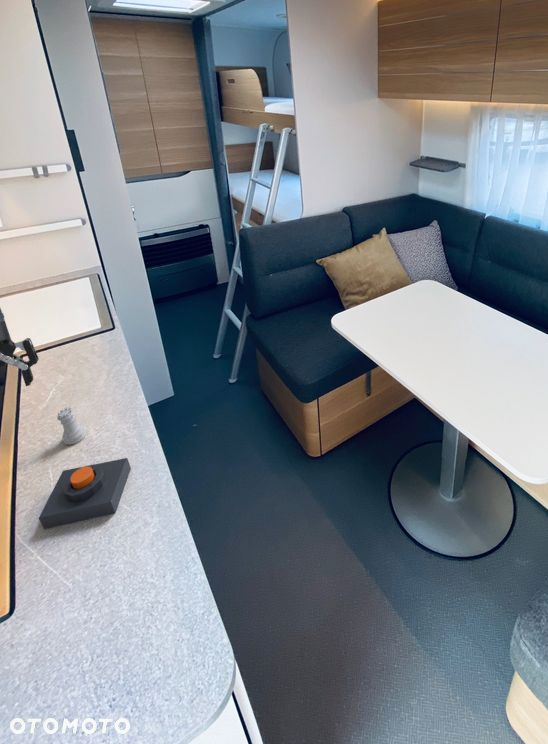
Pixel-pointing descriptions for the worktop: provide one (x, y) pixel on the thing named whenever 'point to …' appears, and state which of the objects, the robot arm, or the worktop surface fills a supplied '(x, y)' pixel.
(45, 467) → the worktop surface
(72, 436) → the rook chess piece
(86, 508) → the control box
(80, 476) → the button
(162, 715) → the worktop surface
